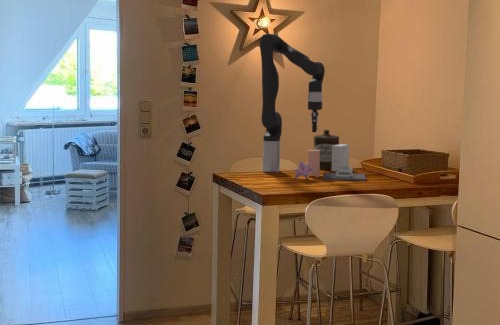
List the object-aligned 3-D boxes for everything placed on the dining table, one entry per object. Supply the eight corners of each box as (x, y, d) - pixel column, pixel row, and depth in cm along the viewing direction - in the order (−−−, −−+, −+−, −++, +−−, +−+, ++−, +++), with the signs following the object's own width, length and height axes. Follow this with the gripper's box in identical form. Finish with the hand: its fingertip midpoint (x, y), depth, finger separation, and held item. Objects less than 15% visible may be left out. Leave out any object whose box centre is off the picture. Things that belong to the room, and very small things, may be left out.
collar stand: (322, 179, 319) (323, 170, 318) (323, 174, 335) (323, 165, 334) (366, 180, 316) (366, 171, 316) (364, 175, 332) (364, 166, 331)
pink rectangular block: (307, 176, 328) (308, 150, 326) (308, 175, 332) (308, 149, 330) (319, 176, 327) (320, 150, 325) (319, 175, 331) (320, 149, 329)
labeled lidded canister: (312, 168, 354) (313, 130, 351) (314, 164, 369) (314, 128, 365) (338, 169, 352) (339, 131, 349) (339, 165, 366) (340, 128, 363)
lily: (319, 181, 322) (314, 164, 324) (316, 175, 310) (311, 158, 313) (297, 187, 323) (292, 170, 326) (293, 182, 312) (289, 164, 315)
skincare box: (341, 169, 351) (341, 143, 349) (349, 171, 347) (349, 144, 345) (330, 171, 346) (331, 144, 344) (338, 172, 342) (339, 145, 339)
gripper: (308, 99, 331) (307, 130, 334) (307, 101, 317) (306, 132, 320) (322, 99, 330) (321, 130, 333) (321, 101, 316) (321, 132, 319)
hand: (314, 131), depth 326 cm, fingers open, 8 cm apart
